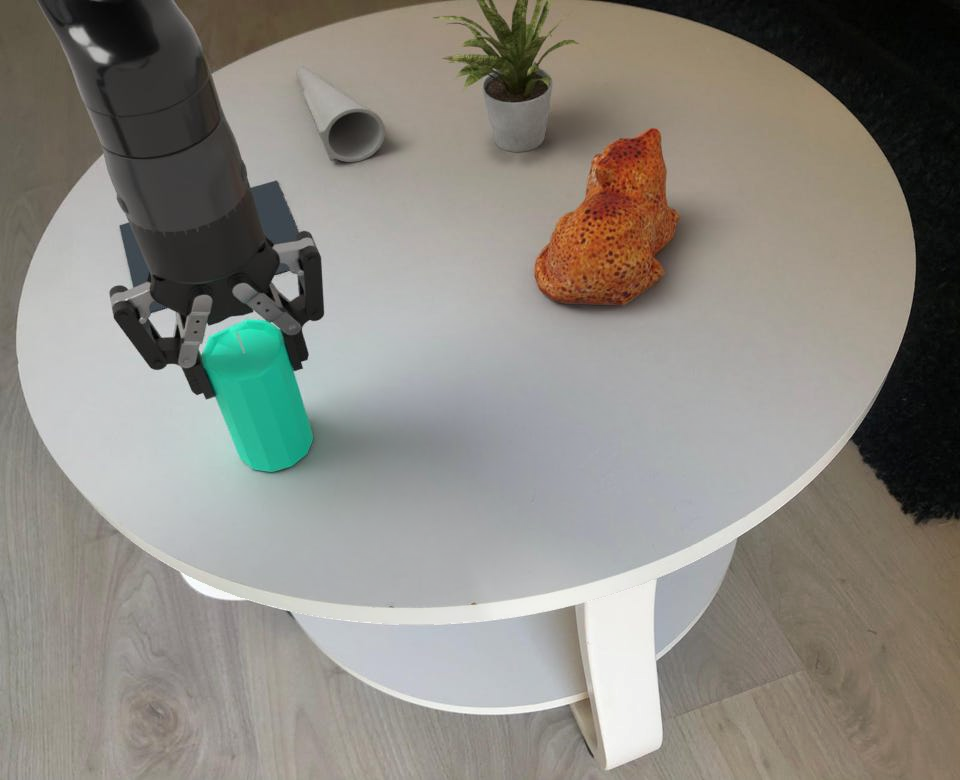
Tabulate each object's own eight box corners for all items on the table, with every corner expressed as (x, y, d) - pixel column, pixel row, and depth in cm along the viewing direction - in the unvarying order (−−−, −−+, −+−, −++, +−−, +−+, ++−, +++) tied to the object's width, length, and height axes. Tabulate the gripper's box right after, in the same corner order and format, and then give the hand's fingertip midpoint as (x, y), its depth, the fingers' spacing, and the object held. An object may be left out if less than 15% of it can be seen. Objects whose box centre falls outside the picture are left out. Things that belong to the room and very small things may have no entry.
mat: (139, 316, 89) (139, 315, 89) (119, 226, 98) (119, 225, 98) (311, 263, 92) (311, 262, 92) (277, 181, 101) (276, 180, 101)
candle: (316, 409, 80) (284, 299, 71) (310, 469, 76) (276, 360, 67) (241, 415, 80) (200, 306, 71) (232, 474, 76) (187, 367, 67)
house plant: (462, 91, 109) (447, -58, 97) (588, 93, 107) (589, -58, 95) (438, 169, 100) (418, 16, 88) (575, 174, 98) (575, 17, 86)
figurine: (590, 196, 95) (592, 104, 88) (697, 225, 91) (708, 132, 84) (516, 295, 87) (511, 203, 79) (630, 333, 83) (636, 239, 75)
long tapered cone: (354, 75, 116) (392, 149, 102) (302, 94, 116) (333, 170, 102) (338, 29, 112) (375, 99, 98) (285, 48, 112) (314, 121, 98)
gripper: (286, 124, 63) (334, 314, 76) (57, 186, 61) (146, 372, 73) (315, 189, 58) (361, 380, 71) (69, 259, 56) (162, 445, 68)
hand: (252, 375), depth 72 cm, fingers closed on candle, 6 cm apart
